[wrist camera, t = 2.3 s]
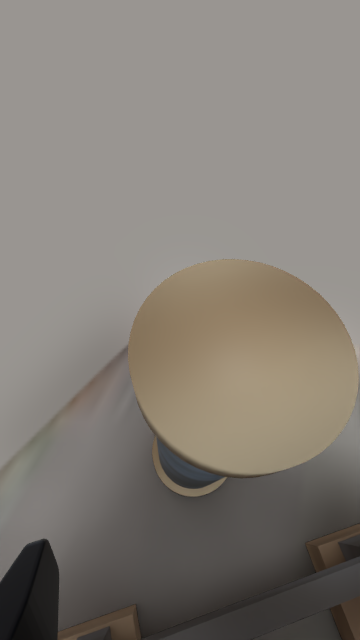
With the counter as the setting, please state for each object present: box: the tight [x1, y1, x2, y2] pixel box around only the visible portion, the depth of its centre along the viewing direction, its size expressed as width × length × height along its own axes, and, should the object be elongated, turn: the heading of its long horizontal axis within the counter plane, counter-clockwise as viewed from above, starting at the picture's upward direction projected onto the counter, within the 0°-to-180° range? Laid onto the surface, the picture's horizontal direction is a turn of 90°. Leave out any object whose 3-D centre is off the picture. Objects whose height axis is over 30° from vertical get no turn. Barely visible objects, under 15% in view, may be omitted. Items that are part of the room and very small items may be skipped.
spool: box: [128, 259, 359, 497], centre depth 11 cm, size 4×4×13 cm
